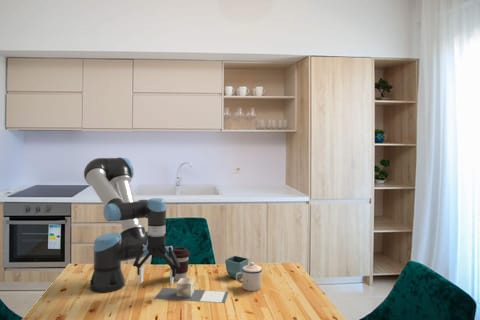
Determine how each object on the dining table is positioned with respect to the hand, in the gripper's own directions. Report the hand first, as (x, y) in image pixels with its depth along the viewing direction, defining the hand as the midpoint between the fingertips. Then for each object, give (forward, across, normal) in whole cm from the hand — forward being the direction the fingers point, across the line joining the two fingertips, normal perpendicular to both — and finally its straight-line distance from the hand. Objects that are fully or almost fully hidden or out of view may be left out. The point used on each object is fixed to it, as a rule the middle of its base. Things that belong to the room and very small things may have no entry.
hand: (156, 283), depth 168 cm
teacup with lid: (+5, +39, +14) cm, 42 cm away
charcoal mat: (+5, +16, 0) cm, 17 cm away
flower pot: (+5, +32, +27) cm, 42 cm away
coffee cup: (+5, +5, +19) cm, 20 cm away
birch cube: (+4, +13, 0) cm, 14 cm away
